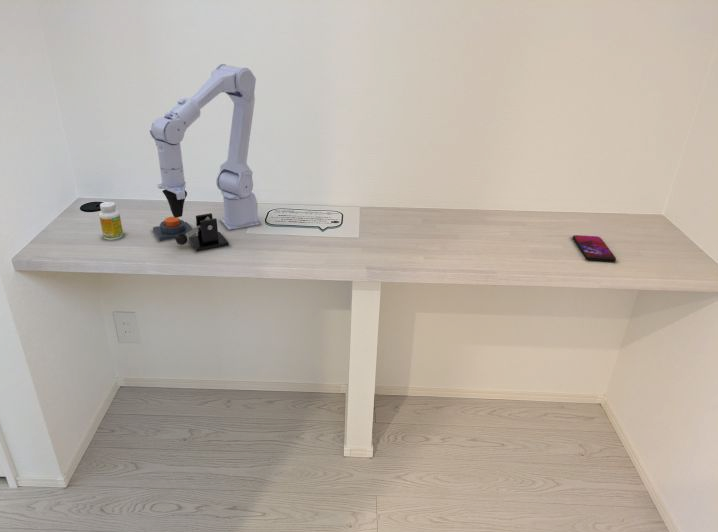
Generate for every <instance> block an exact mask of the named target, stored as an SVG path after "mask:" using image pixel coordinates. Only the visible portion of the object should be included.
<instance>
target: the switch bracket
mask: <svg viewBox="0 0 718 532" xmlns="http://www.w3.org/2000/svg"><path fill="white" fill-rule="evenodd" d="M207 216H208V217H209V218H210V219H208V220H203V219H204V218H206V217H207ZM201 220H202V221H201ZM195 221H196V222H195V223H196V227H197V226H199V225H200V227H201V230H200V231H199V232H197V233H196V234H197V235H192V236H190V237H189V238H188V242H189V243H190V244H191V246H192V247H193V249H194V250H195V251H196V253H199V252H204V251H209V250H214V249H219V248H220V249H221V248H224V247H229V245H230V244H229V241H228V240H227V239H226V238H225V237H224V235H223V234H222V233H221V232H220V231H219V229H218V219H217V218H216V217H215V218H213V213H212V212H209V213H203V214H198V215H195ZM199 221H200V222H199Z"/></svg>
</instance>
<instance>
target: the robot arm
mask: <svg viewBox="0 0 718 532" xmlns="http://www.w3.org/2000/svg"><path fill="white" fill-rule="evenodd" d="M256 81H257V78H256V76H255V75H254V73H253V71H252V70H251V69H250V68H248V67H239V66H234V65H229V64H228V65H227V64H225V63H222V64H219V65H217V66H216V67H215V69H213V70H211V72H210V77H209V78H208V79H207V80H206V81H205V82H204V84H202V86H200V87H199V89H198V90H197V91H196V92H195V93H194V94H193V95H192V96H191V97H190V98H188V97H184V98H179V99H178V100H177V104H176V105H175V106H174V107H172V108H171V109H170V110H169V111H166V113H164V116H161V117H157V118H156V119H154V121H153V122H152V123H151V128H150V129H149V134H150V136H151V138H152V139H153V140H154V142H155V146H156V147H157V148H156V149H157V156H158V163H159V170H160V178H161V183H158V184H157V188H158V189H160V190H162V189H163V190H162V191H161V192H162V193H163V195H164V196H165V198H166V200H167V203H168V205H169V208H170V212H171V214H172V217H175V218H176V217H178V218H181V217H183V213H184V205H185V200H186V198H187V196H188V192H187V190H186V186H187V183H186V179H185V172H184V164H183V154H182V147H181V142H182V141H183V139H184V137H185V133H186V131H187V129H189V128H190V127H191V126H192V125H193V123H195V122H196V121H197V120H198V119H199V118H200V117H201V110H202V108H204V107H205V106H207V104H209V103H210V102H211V101H213V100H214V99H215V98H217V97H218V96H219V95H220V94H221V93H224V94H226V95H227V96H228V97H229V98H230V100H231V102H233V109H232V119H231V127H230V133H229V134H230V135H229V142H228V150H227V151H228V152H227V159H226V161H224V162H223V163H222V164H221V165H220V169H219V172H218V174H217V176H216V182H215V183H216V187H217V188H218V189H219V190H220V191H221V192H220V193H221V195H222V197H223V210H224V211H223V212H224V218H221V219H220V221H221V223H222V224H223V225H224V227H226V228H227V230H229V231H231V230H236V229H237V230H238V229H241V228H248V227H254V226H259V225H260V222H259V213H258V200H257V197H256V195H255V193H254V192H252V191H253V188H254V180H253V173H254V172H253V170H252V169H251V168H250V166H249V165H248V164H247V162H248V154H249V147H250V140H251V132H252V131H251V130H252V124H253V116H254V108H255V102H256V101H255V100H256V98H255V96H256V95H255V90H256Z"/></svg>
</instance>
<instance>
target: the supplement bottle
mask: <svg viewBox="0 0 718 532" xmlns="http://www.w3.org/2000/svg"><path fill="white" fill-rule="evenodd" d="M116 207H117V206H116V203H115V202H113V201H104V202H101V203H100V204H99V208H100V211H99V214H98V216H99V221H100V227H101V232H102V237H103V239H105V240H107V241H115V240H119V239H121V238H123V236H124V231H123V225H122V220H121V214H120V211H119V210H118V209H117V208H116Z"/></svg>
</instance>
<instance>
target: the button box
mask: <svg viewBox="0 0 718 532" xmlns="http://www.w3.org/2000/svg"><path fill="white" fill-rule="evenodd" d="M179 221H180V225H178V226H175V227H167V226H166V225H165V220H163V221H161V222H160V223H159V226H153V227H152V231H153V233H154V234H155V236H156V238H157V239H158V241H159V242H162V241H163V242H164V241H170V240H173V239H175V238H176V235H177V234H179V233H184V234H186V233H187V232H189V231H191V230H192V229H193V228H192V227H191V226H190V224H189V223H188V221H185V220H183V219H180V218H179Z"/></svg>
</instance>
